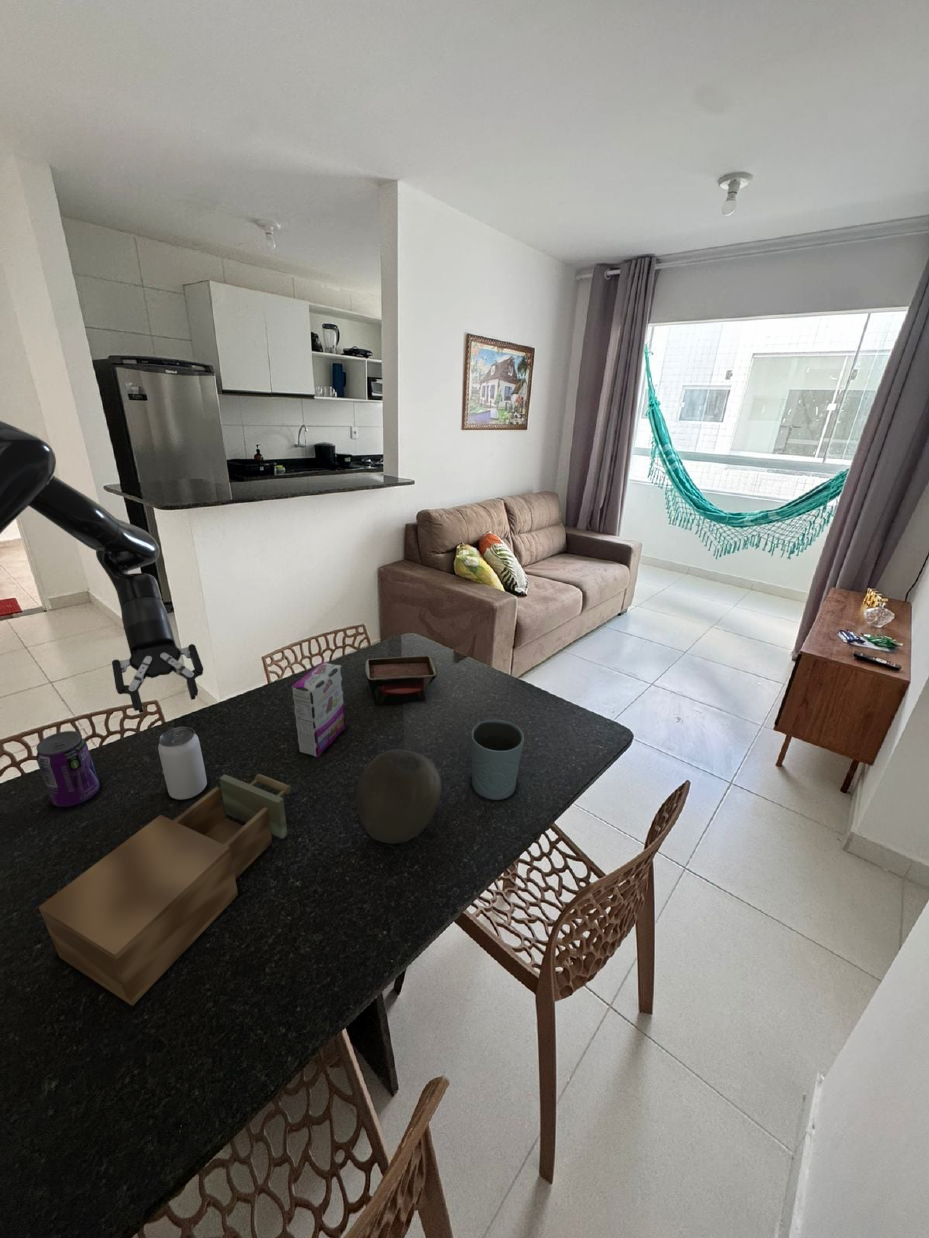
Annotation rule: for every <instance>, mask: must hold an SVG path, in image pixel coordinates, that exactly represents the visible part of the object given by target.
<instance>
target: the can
mask: <svg viewBox="0 0 929 1238" xmlns="http://www.w3.org/2000/svg"><path fill="white" fill-rule="evenodd" d="M157 751H158V754H159V759H160V763H161V768H162V772H163V776H164V780H165V785H166V788H167V792H168V793H167V794H168V795H169V797H171V798H172V799H175V800H181V801H182V800H189V799H192V798H194V797H196V796H198V795H200V794H201V793H202V792H203V791H204V790H205V789H206V787H207V786H208V780H207V774H206V773H207V772H206V768H205V763H204V759H203V753H202V749H201V743H200V738H199V736H198V735H197V734H196V732H195V730H194V728H192V727H188V726H178V727H174V728H171V729H169V730H167V731H165V732H164V733H162V734H161V735H160V737H159V739H158V747H157Z"/></svg>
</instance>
